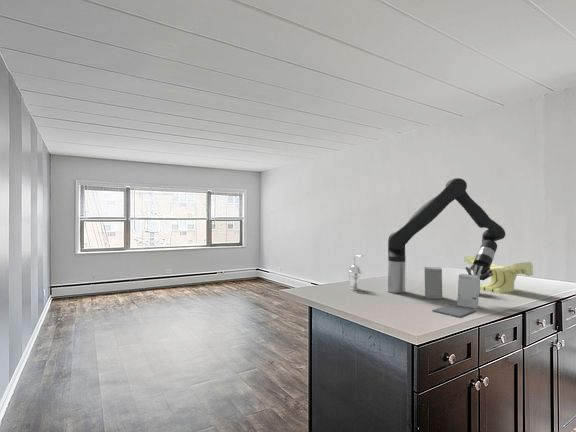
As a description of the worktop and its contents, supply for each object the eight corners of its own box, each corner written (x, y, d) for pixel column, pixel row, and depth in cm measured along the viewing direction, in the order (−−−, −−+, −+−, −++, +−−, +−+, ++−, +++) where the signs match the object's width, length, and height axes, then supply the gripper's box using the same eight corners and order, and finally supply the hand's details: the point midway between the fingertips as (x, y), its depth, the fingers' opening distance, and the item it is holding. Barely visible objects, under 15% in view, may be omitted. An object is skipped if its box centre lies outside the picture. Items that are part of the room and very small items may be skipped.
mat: (449, 305, 164) (449, 304, 164) (476, 311, 155) (476, 309, 155) (432, 311, 154) (432, 310, 154) (459, 317, 145) (459, 316, 145)
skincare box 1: (441, 296, 182) (441, 266, 182) (442, 300, 175) (442, 268, 175) (424, 295, 185) (424, 265, 185) (424, 298, 178) (425, 267, 178)
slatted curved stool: (532, 293, 191) (532, 261, 190) (516, 296, 183) (516, 263, 183) (480, 283, 217) (480, 255, 217) (464, 286, 210) (464, 256, 209)
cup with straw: (352, 286, 205) (352, 253, 205) (365, 289, 199) (365, 254, 199) (344, 289, 199) (344, 254, 199) (357, 291, 193) (357, 255, 193)
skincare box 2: (457, 306, 164) (457, 274, 164) (460, 303, 169) (460, 273, 168) (476, 309, 159) (477, 276, 158) (479, 306, 163) (479, 275, 163)
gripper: (468, 251, 178) (457, 278, 170) (496, 254, 168) (485, 282, 160) (472, 261, 181) (461, 287, 174) (500, 264, 171) (490, 292, 164)
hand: (473, 285), depth 167 cm, fingers closed
